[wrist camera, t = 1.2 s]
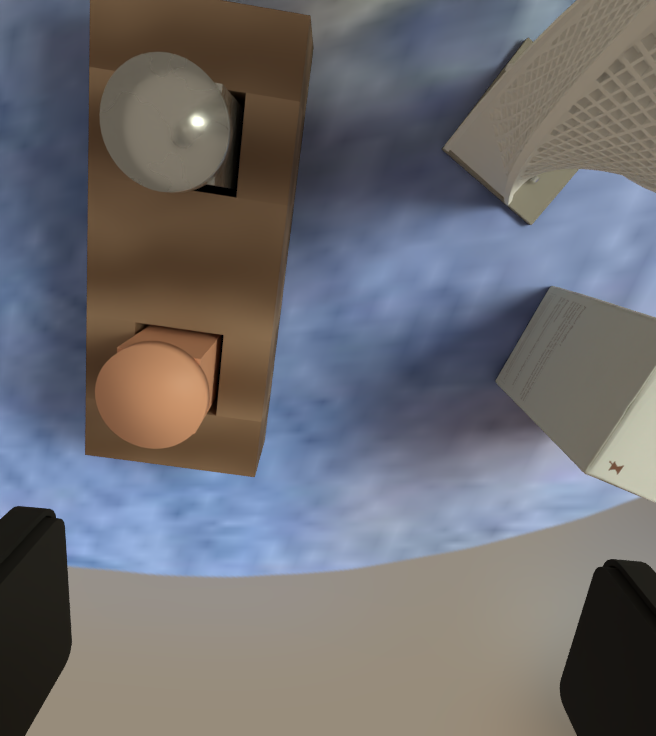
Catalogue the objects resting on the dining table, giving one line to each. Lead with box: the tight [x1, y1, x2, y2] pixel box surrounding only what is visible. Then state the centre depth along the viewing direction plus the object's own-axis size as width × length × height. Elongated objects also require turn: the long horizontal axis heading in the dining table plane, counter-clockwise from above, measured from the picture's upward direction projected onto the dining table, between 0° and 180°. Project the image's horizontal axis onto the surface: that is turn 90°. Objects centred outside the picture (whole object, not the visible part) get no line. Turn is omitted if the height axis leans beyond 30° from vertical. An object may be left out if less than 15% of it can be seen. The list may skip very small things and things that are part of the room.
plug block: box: [85, 0, 313, 477], centre depth 29 cm, size 24×10×5 cm, turn 172°
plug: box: [99, 52, 242, 193], centre depth 24 cm, size 5×5×6 cm
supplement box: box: [495, 286, 656, 503], centre depth 28 cm, size 7×7×13 cm
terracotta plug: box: [95, 325, 222, 449], centre depth 27 cm, size 5×5×6 cm
